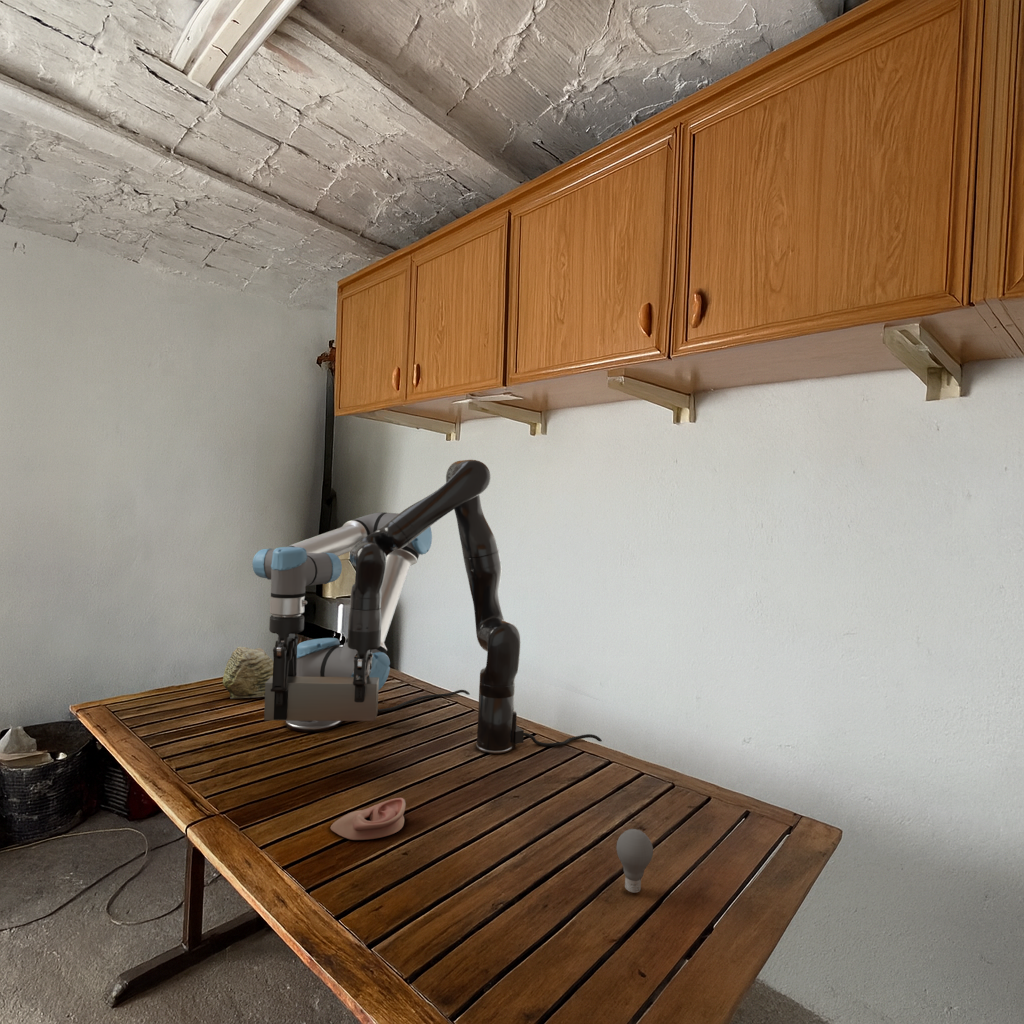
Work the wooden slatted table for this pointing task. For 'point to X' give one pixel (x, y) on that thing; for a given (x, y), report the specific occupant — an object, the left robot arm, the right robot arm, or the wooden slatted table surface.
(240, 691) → the fossil
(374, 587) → the right robot arm
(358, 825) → the anatomical model
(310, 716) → the bar
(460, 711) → the wooden slatted table surface
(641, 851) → the light bulb
